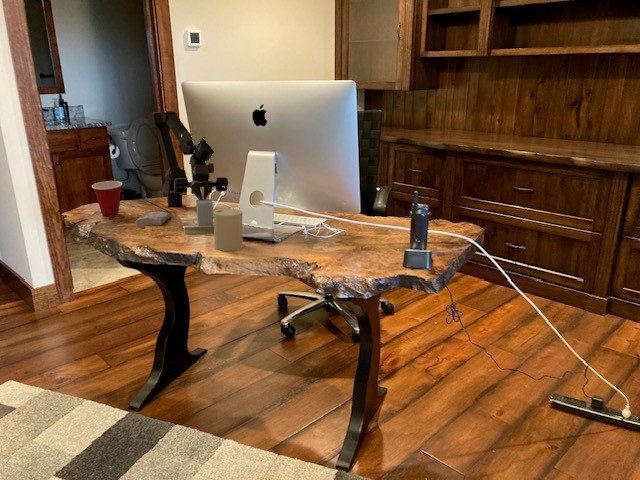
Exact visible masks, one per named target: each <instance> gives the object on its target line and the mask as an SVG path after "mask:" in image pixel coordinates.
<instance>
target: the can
mask: <svg viewBox="0 0 640 480" xmlns="http://www.w3.org/2000/svg"><path fill="white" fill-rule="evenodd" d="M243 212H244V211H243V210H241V209H237V208H231V207H230V208H228V207H227V208H225V207H224V208H219V209H215V210H213V216H214V218H213V222H214V232H213V235H214V236H213V239H214V240H213V242H214V243H213V247H214V249H215V250H217V249H218V250H217V251H221V250H223V251H222V252H234V251H238V250H241V249H242V248H243V247H244V243H243V242H244V241H243Z"/></svg>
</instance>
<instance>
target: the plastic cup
mask: <svg viewBox="0 0 640 480" xmlns="http://www.w3.org/2000/svg"><path fill="white" fill-rule="evenodd" d="M122 186H123V182H122V181H118V180H108V181H100V182H96V183H93V184H92V185H91V188H92V189H93V190H94V194H95V195H96V198H97V204H98V207H99V208H100V212H101V215H102V216H103V217H115V216H118V215H119V212H120V202H121V192H122Z"/></svg>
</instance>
